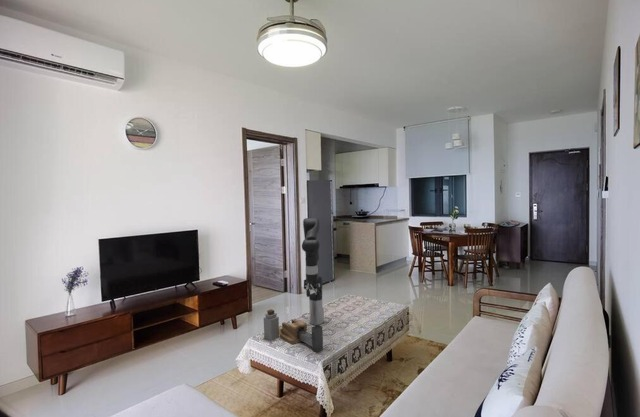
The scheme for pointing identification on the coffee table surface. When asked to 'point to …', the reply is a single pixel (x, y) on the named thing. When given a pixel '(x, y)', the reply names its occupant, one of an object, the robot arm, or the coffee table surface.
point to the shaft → (312, 337)
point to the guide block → (292, 331)
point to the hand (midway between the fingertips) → (312, 298)
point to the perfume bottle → (271, 325)
